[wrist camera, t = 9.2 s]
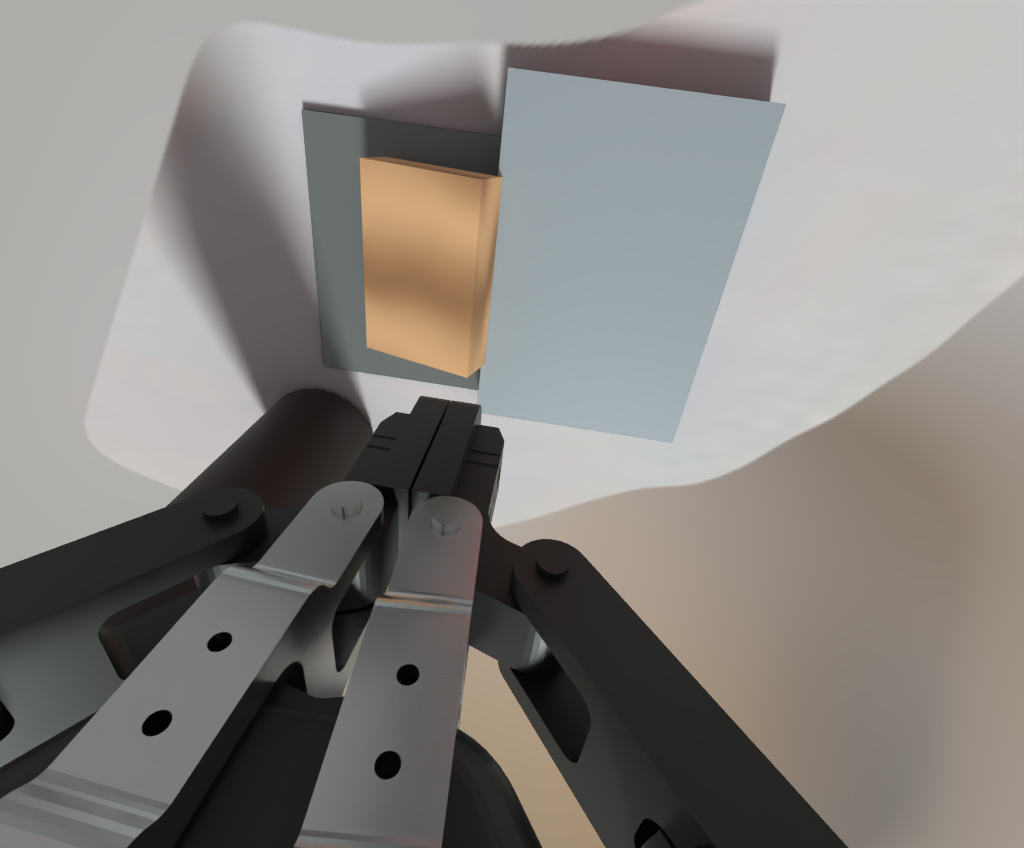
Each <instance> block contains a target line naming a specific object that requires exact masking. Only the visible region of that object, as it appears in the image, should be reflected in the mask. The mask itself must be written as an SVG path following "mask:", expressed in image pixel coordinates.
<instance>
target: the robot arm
mask: <svg viewBox="0 0 1024 848" xmlns="http://www.w3.org/2000/svg"><path fill="white" fill-rule="evenodd" d="M481 412H482V406H481V405H478V404H471V403H465V402H458V401H450V400H445V399H438V398H432V397H425V396H420V397H419V399H418V401H417V403H416V404H415V406H414V408H413V410H412V412H411V413H410V414H405V413H399V412H396V413H394V414H393V415H391V416H390V417H388V418H386V419H385V420H383V421H382V422H381V423H380V424H379V426H378V428H377V429H376V431H375V432H374V434H373V437H371V438H370V440H369V442H368V443H367V445H366V448H364V449H363V451H362V452H361V454H360V456H359V457H358V459H357V460H356V462H355V463H354V465H353V467H352V468H351V470H350V471H349V473H348V474H347V476H346V477H345V479H344V481H343V482H337V483H334V484H331V485H328V486H326V487H324V488H322V489H321V490H319V491H318V492H316V493H315V494H314V496H313V497H312V498H311V499H310V500H309V501H308V503H307V504H306V505H305V506H302V507H292V508H278V509H264V505H263V501H262V499H261V497H260V496H259V495H258V494H257V493H255V492H254V491H252V490H249V489H245V488H239V487H227V488H220V489H215V490H212V491H209V492H206V493H203V494H200V495H197V496H195V497H192V498H189V499H187V500H184V501H181V502H179V503H176V504H173V505H170V506H168V507H165V508H162V509H160V510H157V511H154V512H152V513H149V514H146V515H143V516H141V517H138V518H135V519H133V520H130V521H127V522H124V523H122V524H119V525H116V526H114V527H111V528H108V529H106V530H103V531H100V532H97V533H95V534H92V535H89V536H87V537H84V538H81V539H79V540H76V541H73V542H70V543H68V544H65V545H62V546H59V547H57V548H55V549H51V550H49V551H46V552H43V553H41V554H38V555H35V556H33V557H30V558H27V559H24V560H22V561H19V562H16V563H14V564H11V565H8V566H6V567H3V568H0V848H542V846H541V845H540V842H539V840H538V838H537V836H536V834H535V832H534V830H533V828H532V826H531V824H530V821H529V819H528V817H527V815H526V813H525V811H524V809H523V807H522V805H521V803H520V801H519V799H518V796H517V795H516V792H515V790H514V788H513V787H512V785H511V783H510V781H509V779H508V778H507V776H506V775H505V773H504V772H503V770H502V769H501V767H500V766H499V764H498V763H497V762H496V761H495V760H494V759H493V757H492V756H491V755H490V754H489V753H488V752H487V751H486V749H484V748H483V747H482V746H481V745H480V744H479V743H478V742H477V741H475V740H474V739H473V738H472V737H470V736H469V735H467V734H466V733H464V732H463V731H461V730H459V725H460V716H461V708H462V699H463V690H464V683H465V674H466V667H467V658H468V650H469V645H470V646H472V647H474V648H476V649H478V650H480V651H481V652H483V653H485V654H487V655H489V656H491V657H492V658H494V659H496V660H498V664H499V669H500V672H501V674H502V676H503V678H504V679H505V681H506V682H507V684H508V686H509V688H510V689H511V691H512V693H513V694H514V696H515V698H516V699H517V701H518V703H519V704H520V706H521V707H522V709H523V711H524V713H525V714H526V716H527V718H528V719H529V721H530V723H531V724H532V726H533V728H534V729H535V731H536V732H537V734H538V736H539V737H540V739H541V741H542V742H543V744H544V746H545V747H546V749H547V751H548V752H549V754H550V756H551V757H552V759H553V761H554V762H555V764H556V766H557V767H558V769H559V771H560V772H561V774H562V775H563V777H564V779H565V781H566V782H567V784H568V786H569V787H570V789H571V790H572V792H573V794H574V796H575V797H576V799H577V801H578V802H579V804H580V806H581V807H582V809H583V811H584V812H585V814H586V816H587V817H588V819H589V821H590V822H591V824H592V826H593V827H594V829H595V831H596V832H597V834H598V836H599V837H600V839H601V841H602V842H603V844H604V846H605V847H606V848H848V847H847V846H846V845H845V844H844V843H843V841H842V840H841V839H840V838H839V837H838V836H837V835H836V834H835V833H834V832H833V831H832V829H831V828H830V827H829V826H828V825H827V824H826V823H825V822H824V820H822V818H821V817H820V816H819V815H818V814H817V813H816V812H815V811H814V810H813V808H812V807H811V806H810V805H809V804H808V803H807V802H806V801H805V800H804V798H803V797H802V796H801V795H800V794H799V793H798V792H797V791H796V790H795V788H794V787H793V786H792V785H791V784H790V783H789V782H788V781H787V780H786V779H785V777H784V776H783V775H782V774H781V773H780V772H779V771H778V770H777V769H776V768H775V767H774V765H773V764H772V763H771V762H770V761H769V760H768V759H767V758H766V756H765V755H764V754H763V753H762V752H761V751H760V750H759V749H758V748H757V747H756V746H755V744H754V743H753V742H752V741H751V740H750V739H749V738H748V737H747V736H746V734H745V733H744V732H743V731H742V730H741V729H740V728H739V727H738V726H737V724H736V723H735V722H734V721H733V720H732V719H731V718H730V717H729V716H728V715H727V713H726V712H725V711H724V710H723V709H722V708H721V707H720V706H719V705H718V703H717V702H716V701H715V700H714V699H713V698H712V697H711V696H710V695H709V694H708V692H707V691H706V690H705V689H704V688H703V687H702V686H701V685H700V684H699V683H698V681H697V680H696V679H695V678H694V677H693V676H692V675H691V674H690V673H689V672H688V670H687V669H686V668H685V667H684V666H683V665H682V664H681V663H680V662H679V661H678V659H677V658H676V657H675V656H674V655H673V654H672V653H671V652H670V651H669V650H668V649H667V647H666V646H665V645H664V644H663V643H662V642H661V641H660V640H659V639H658V637H657V636H656V635H655V634H654V633H653V632H652V631H651V630H650V628H649V627H648V626H647V625H646V624H645V623H644V622H643V621H642V620H641V619H640V618H639V616H638V615H637V614H636V613H635V612H634V611H633V610H632V609H631V607H630V606H629V605H628V604H627V603H626V602H625V601H624V600H623V599H622V598H621V596H620V595H619V594H618V593H617V592H616V591H615V590H614V589H613V588H612V587H611V585H609V583H608V582H607V581H606V580H605V579H604V578H603V577H602V576H601V574H600V573H599V572H598V571H597V570H596V569H595V568H594V567H593V566H592V564H591V563H590V562H589V561H588V560H587V559H586V558H585V557H584V556H583V555H582V554H581V553H580V552H579V551H578V550H577V549H575V548H574V547H572V546H571V545H569V544H566V543H564V542H561V541H557V540H551V539H541V540H535V541H532V542H529V543H527V544H525V545H524V546H522V547H520V546H518V545H516V544H513V543H511V542H509V541H507V540H506V539H504V538H503V537H501V536H500V535H499V534H498V533H497V532H496V531H495V530H494V528H493V527H492V525H491V521H492V516H493V512H494V507H495V502H496V498H497V493H498V488H499V480H500V472H501V464H502V456H503V448H504V439H503V437H502V435H501V432H500V430H499V428H496V427H490V426H483V425H480V423H481ZM192 577H194V579H195V582H196V585H197V588H198V589H196V590H194V591H192V592H190V593H188V594H186V595H184V596H181V597H179V598H177V599H175V600H173V601H171V602H169V603H167V604H165V605H163V606H161V607H158V608H156V609H154V610H152V611H150V612H148V613H146V614H144V615H142V616H140V617H137V618H135V619H133V620H131V621H129V622H127V623H125V624H122V625H119V626H115V627H104V626H101V625H102V624H103V622H104V621H105V620H106V619H108V618H109V617H110V616H111V615H113V614H114V613H116V612H118V611H120V610H122V609H124V608H127V607H129V606H131V605H133V604H135V603H137V602H140V601H142V600H144V599H146V598H148V597H150V596H153V595H155V594H157V593H159V592H161V591H163V590H166V589H168V588H170V587H172V586H174V585H176V584H179V583H181V582H183V581H185V580H187V579H189V578H192ZM388 585H389V586H388ZM387 588H388V590H387ZM386 590H387V591H386ZM351 673H352V674H351ZM350 675H351V677H350ZM349 677H350V680H349V683H348V686H347V690H346V693H345V696H344V697H342V695H343V692H344V689H345V686H346V684H347V681H348V679H349Z"/></svg>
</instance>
